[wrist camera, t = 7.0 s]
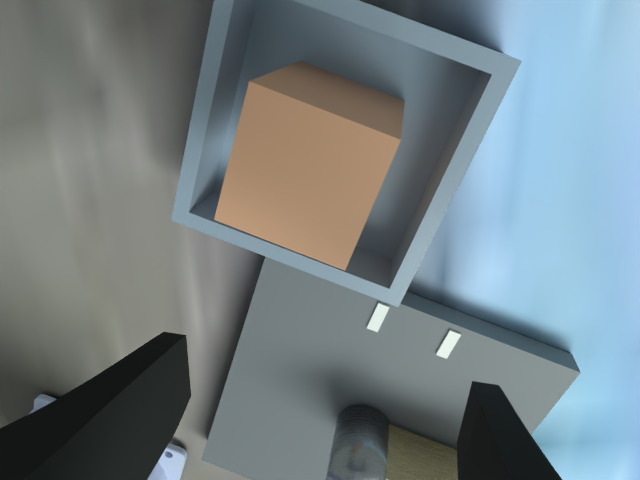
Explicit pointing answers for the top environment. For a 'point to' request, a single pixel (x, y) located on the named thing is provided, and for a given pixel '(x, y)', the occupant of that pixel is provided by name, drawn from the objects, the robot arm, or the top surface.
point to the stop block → (309, 160)
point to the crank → (385, 450)
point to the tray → (370, 70)
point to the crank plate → (362, 372)
